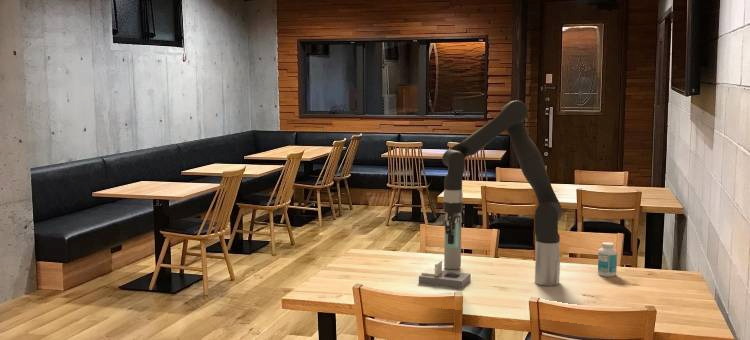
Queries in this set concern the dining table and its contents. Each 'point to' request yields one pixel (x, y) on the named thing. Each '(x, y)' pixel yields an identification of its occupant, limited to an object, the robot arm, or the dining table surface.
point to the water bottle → (453, 252)
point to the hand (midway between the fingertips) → (452, 242)
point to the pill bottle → (607, 260)
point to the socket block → (446, 279)
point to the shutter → (434, 270)
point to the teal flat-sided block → (456, 237)
